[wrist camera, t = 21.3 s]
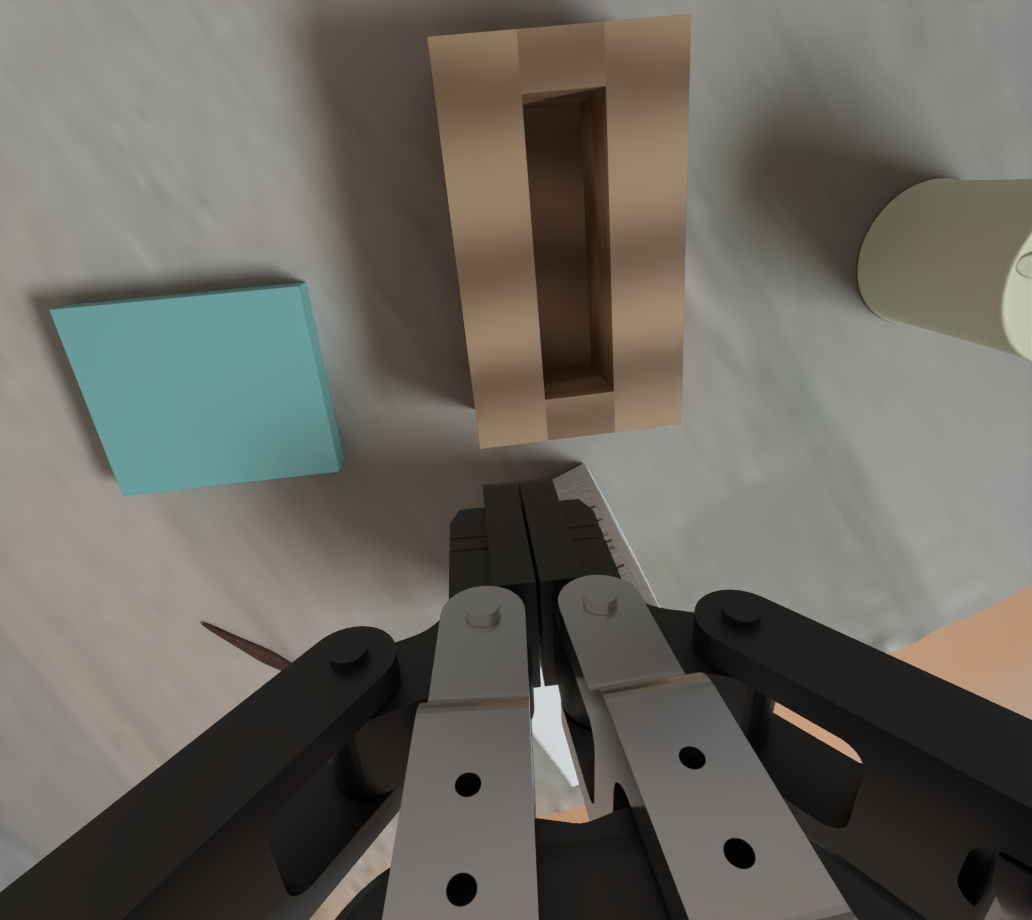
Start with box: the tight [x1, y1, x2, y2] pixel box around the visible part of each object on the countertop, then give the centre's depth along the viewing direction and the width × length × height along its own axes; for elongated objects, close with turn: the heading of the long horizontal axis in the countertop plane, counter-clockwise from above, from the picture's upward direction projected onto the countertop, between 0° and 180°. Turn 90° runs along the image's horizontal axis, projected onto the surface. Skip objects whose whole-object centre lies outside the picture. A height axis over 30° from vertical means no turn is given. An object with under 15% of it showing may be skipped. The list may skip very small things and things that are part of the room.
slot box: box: [427, 14, 691, 449], centre depth 34 cm, size 20×12×7 cm, turn 5°
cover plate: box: [49, 282, 344, 496], centre depth 38 cm, size 12×2×14 cm
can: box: [857, 178, 1032, 362], centre depth 35 cm, size 9×9×12 cm
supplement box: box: [532, 464, 661, 787], centre depth 38 cm, size 10×9×17 cm
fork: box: [202, 623, 291, 670], centre depth 48 cm, size 3×16×2 cm, turn 49°
